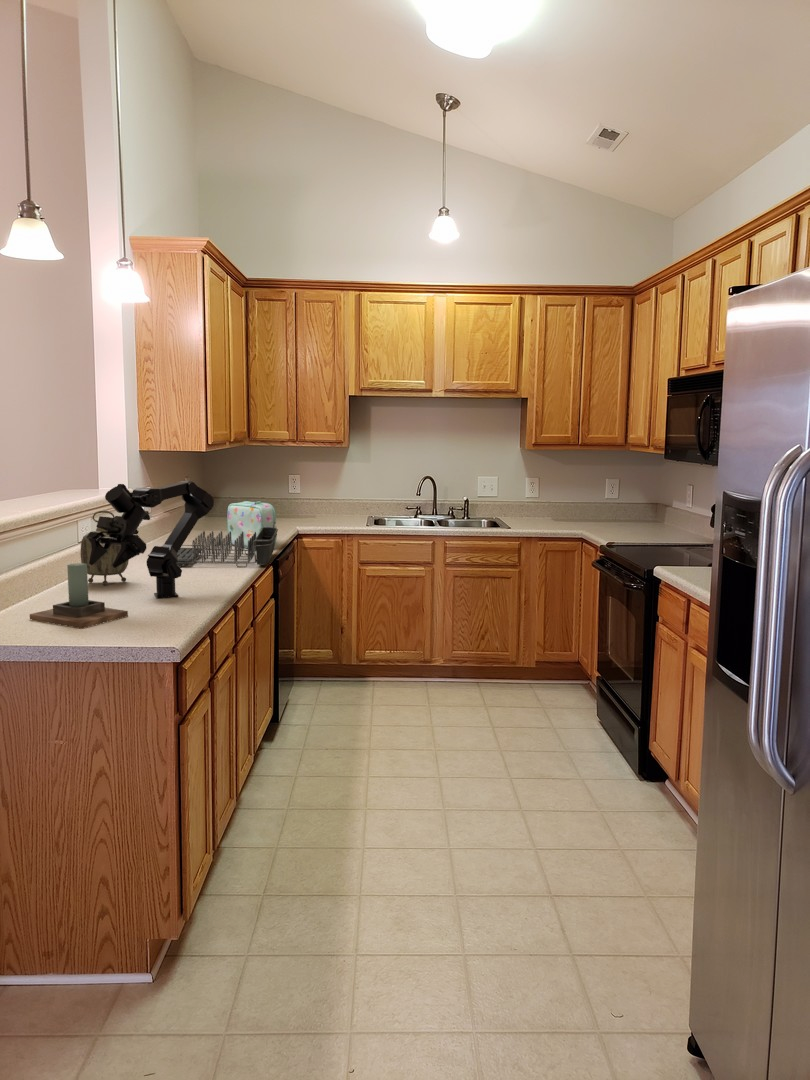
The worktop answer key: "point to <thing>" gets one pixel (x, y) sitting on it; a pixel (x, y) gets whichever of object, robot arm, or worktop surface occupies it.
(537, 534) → the worktop surface
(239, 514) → the lunch box
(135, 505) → the robot arm
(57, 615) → the walnut seat board
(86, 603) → the grey-green canister
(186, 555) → the dish rack
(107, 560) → the tabletop clock
